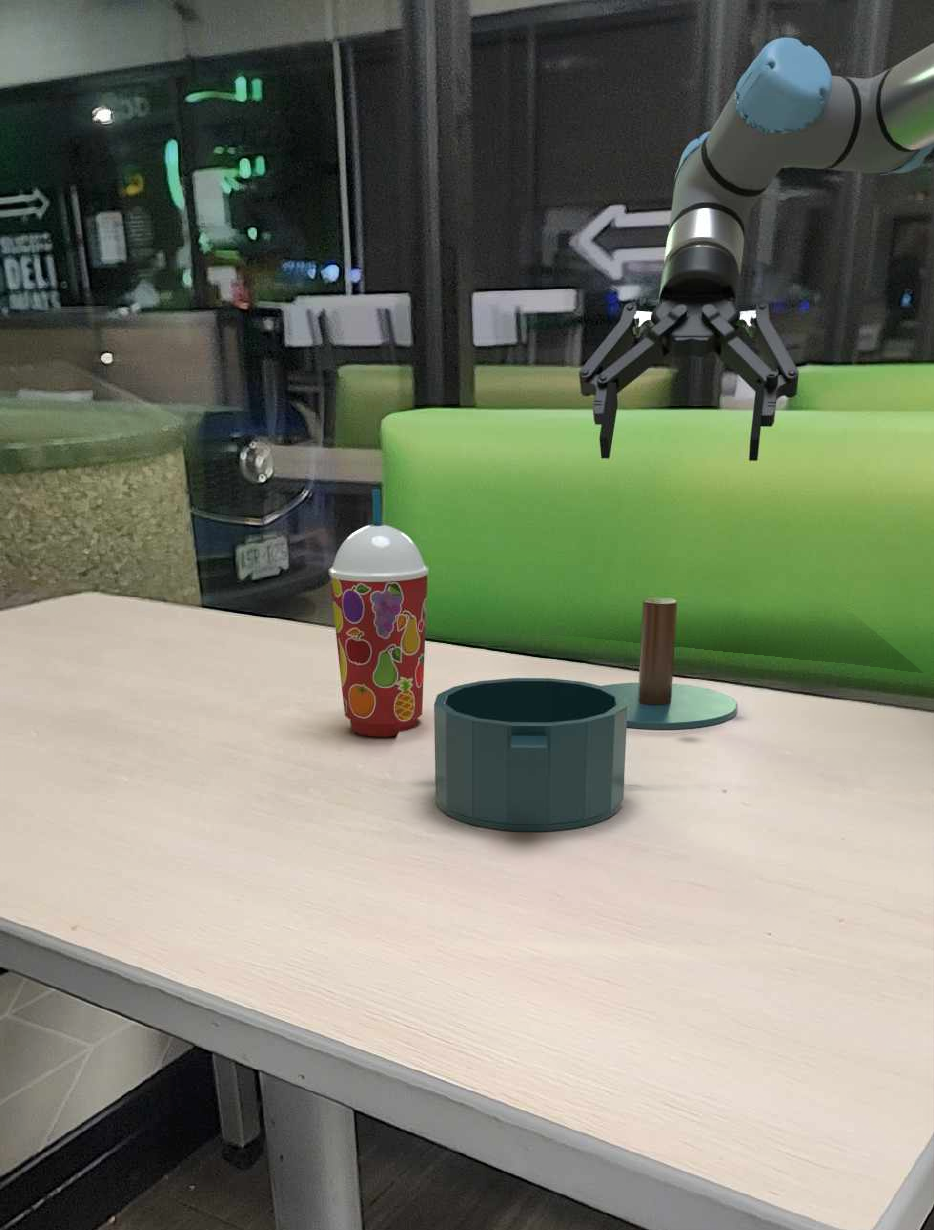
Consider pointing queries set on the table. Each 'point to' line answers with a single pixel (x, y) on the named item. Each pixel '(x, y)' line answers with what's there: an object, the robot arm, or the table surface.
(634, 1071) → the table surface
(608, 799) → the tin
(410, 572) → the smoothie
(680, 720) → the lid
